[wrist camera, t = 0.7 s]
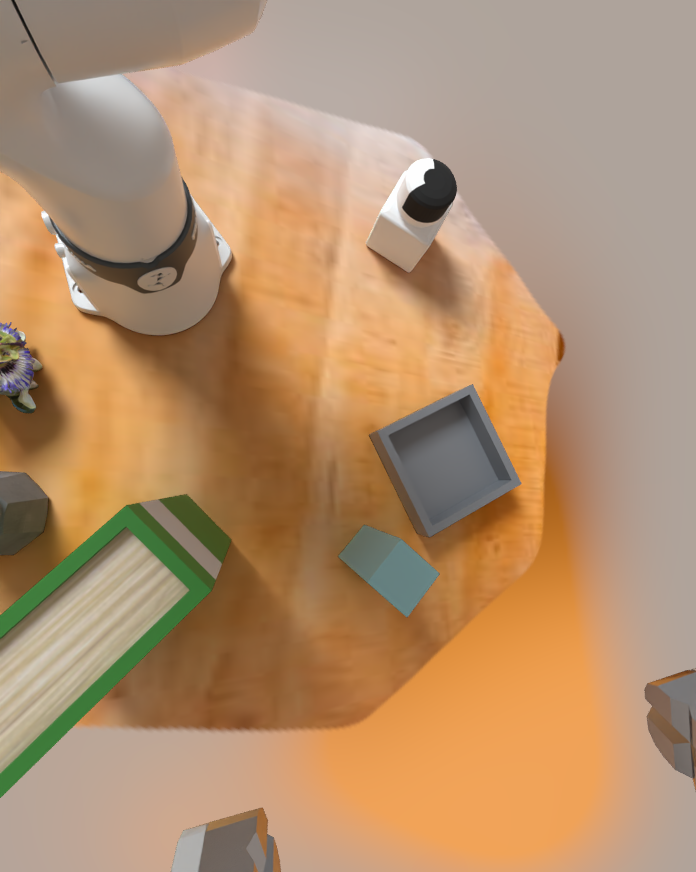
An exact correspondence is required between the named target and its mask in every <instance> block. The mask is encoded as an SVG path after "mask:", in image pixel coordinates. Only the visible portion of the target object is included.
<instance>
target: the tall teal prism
mask: <svg viewBox="0 0 696 872" xmlns="http://www.w3.org/2000/svg"><path fill="white" fill-rule="evenodd" d="M338 557H339V558H340V559H341V560H342V561H344V562H345V563H346V564H347V565H348V566H349V567H350V568H351V569H353V570H354V571H355V572H356V573H357V574H358V575H359V576H360V577H362V578H363V579H364V580H365V581H366V582H367V583H368V584H369V585H371V586H372V587H373V588H374V589H375V590H376V591H377V592H378V593H380V594H381V595H382V596H383V597H384V598H385V599H386V600H388V601H389V602H390V603H391V604H392V605H393V606H394V607H396V608H397V609H398V610H399V611H400V612H401V613H402V614H403V615H405V616H406V617H408V616H409V614H410V613H411V612H412V610H413V609H414V608H415V606H416V605H417V604H418V602H419V601H420V600H421V598H422V597H423V596H424V594H425V593H426V592H427V590H428V589H429V588H430V586H431V585H432V584H433V582H434V581H435V580H436V578H437V577H438V576H439V574H440V573H439V572H437V571H436V570H435V569H434V568H433V567H432V566H431V565H430V564H428V563H427V562H426V561H425V560H424V559H423V558H422V557H421V556H420V555H418V554H417V553H416V552H415V551H414V550H413V549H412V548H411V547H410V546H408V545H407V544H406V543H405V542H404V541H403V540H402V539H400V538H397V537H395V536H392V535H390V534H387V533H385V532H382V531H379V530H377V529H374V528H372V527H369V526H367V525H363V527H362V528H361V529H360V530H359V531H358V533H357V534H356V535H355V536H354V538H353V539H352V540H351V541H350V542H349V544H348V545H347V546H346V547H345V549H344V550H343V551H342V552H341V553H340V555H339V556H338Z"/></svg>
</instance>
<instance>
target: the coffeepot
mask: <svg viewBox="0 0 696 872" xmlns="http://www.w3.org/2000/svg"><path fill="white" fill-rule="evenodd" d="M47 513H48V497H47V495H46V494H45V493H44V492H43V491H42V489H41V488H40V487H39V485H38V484H36V483H35V482H34V481H33V480H32V479H31V478H30V477H29V476H28V475H27V474H26V473H21V472H3V471H0V555H14V554H15V553H17V552H18V551H19V550H21V549H22V548H23V547H25V546H26V545H28V544H29V543H30V542H31V541H33V540H34V539H35V538H36V537H37V536H39V535H40V534H41V533H42V532H44V528H45V522H46V518H47Z"/></svg>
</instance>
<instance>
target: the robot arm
mask: <svg viewBox="0 0 696 872" xmlns="http://www.w3.org/2000/svg"><path fill="white" fill-rule="evenodd" d="M266 3H267V0H0V172H2V173H4V174H5V175H7V176H9V177H10V178H11V179H13V180H14V181H16V182H17V183H18V184H20V185H21V186H22V187H23V188H24V189H25V190H26V191H27V192H28V193H29V194H30V195H31V197H32V198H33V199H34V200H35V201H36V202H37V203H38V204H39V205H40V206H41V207H42V209H43V210H44V211H42V218H43V220H44V223H45V225H46V227H47V229H48V231H49V232H50V233H51V234H53V235H56V236H57V240H58V243H56V244H55V249H56V251H57V253H58V255H59V257H60V258H62V261H63V265H64V269H65V273H66V277H67V281H68V285H69V289H70V293H71V297H72V301H73V303H74V304H75V306H76V307H77V309H79V310H80V311H82V312H85V313H88V314H93V315H99V316H105V317H107V318H109V319H111V320H113V321H115V322H116V323H118V324H120V325H121V326H123V327H125V328H127V329H129V330H132V331H135V332H138V333H142V334H148V335H168V334H173V333H177V332H180V331H183V330H186V329H188V328H190V327H192V326H193V325H195V324H196V323H198V322H199V321H200V320H201V319H202V318H204V317H205V315H206V314H207V313H208V312H209V311H210V309H211V308H212V306H213V304H214V302H215V300H216V297H217V294H218V290H219V284H220V279H221V275H222V273H223V272H224V270H225V269H226V268H227V266H228V265H229V263H230V261H231V259H232V252H231V249H230V247H229V245H228V244H227V242H226V241H225V240H224V238H223V237H222V236H221V234H220V233H219V232H218V230H217V229H216V228H215V226H214V225H213V224H212V222H211V221H210V220H209V218H208V217H207V216H206V214H205V213H204V212H203V210H202V209H201V208H200V206H199V205H198V204H197V202H196V201H195V200H194V198H193V197H192V196H191V194H190V193H189V190H188V187H187V185H186V183H185V182H184V180H183V178H182V177H181V174H180V169H179V165H178V161H177V157H176V153H175V149H174V145H173V141H172V137H171V134H170V131H169V129H168V126H167V124H166V122H165V121H164V119H163V117H162V115H161V114H160V112H159V111H158V110H157V108H156V107H155V106H154V104H153V103H152V102H151V101H150V100H149V99H148V98H147V97H146V95H145V94H144V93H143V92H142V91H141V90H139V89H138V88H137V87H136V86H135V85H134V84H133V83H132V82H131V81H130V80H129V79H127V78H126V77H125V76H124V75H122V74H125V73H132V72H138V71H145V70H151V69H158V68H165V67H171V66H178V65H182V64H184V63H187V62H190V61H192V60H194V59H197V58H199V57H201V56H204V55H206V54H209V53H211V52H214V51H216V50H218V49H220V48H222V47H224V46H226V45H229V44H231V43H233V42H235V41H237V40H239V39H241V38H243V37H245V36H247V35H249V34H251V33H252V32H253V31H254V30H255V28H256V26H257V24H258V22H259V20H260V18H261V16H262V14H263V11H264V8H265V6H266ZM217 244H219V246H217ZM80 290H81V291H82V292H83V293H80ZM645 699H646V700H647V701H648V702H649V703H650V704H651V705H652V708H651V709H650V712H649V713H648V715H647V722H648V729H649V732H650V734H651V736H652V739H653V741H654V743H655V745H656V747H657V748H658V749H659V751H660V752H661V753H662V755H663V757H664V758H665V759H666V760H667V761H668V762H669V764H671V766H672V767H673V768H674V769H675V770H677V771H679V772H681V773H683V774H685V775H687V776H689V777H691V778H693V782H694V786H695V790H696V668H694V669H691V670H686V671H683V672H680V673H677V674H674V675H671V676H668V677H665V678H662V679H659V680H656V681H653V682H650V683H648V684H647V685H646V687H645ZM267 824H268V820H267V818H266V814H265V812H264V809H263V808H259V809H255V810H252V811H248V812H244V813H241V814H238V815H234V816H230V817H227V818H223V819H220V820H216V821H213V822H209V823H206V824H203V825H200V826H196V827H193V828H190V829H187V830H183V832H182V834H181V836H180V838H179V841H178V843H177V847H176V851H175V856H174V861H173V864H172V869H171V872H281V868H280V859H279V855H278V850H277V846H276V843H275V840H274V838H273V837H272V836H270V835H268V834H267V826H268V825H267Z"/></svg>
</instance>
